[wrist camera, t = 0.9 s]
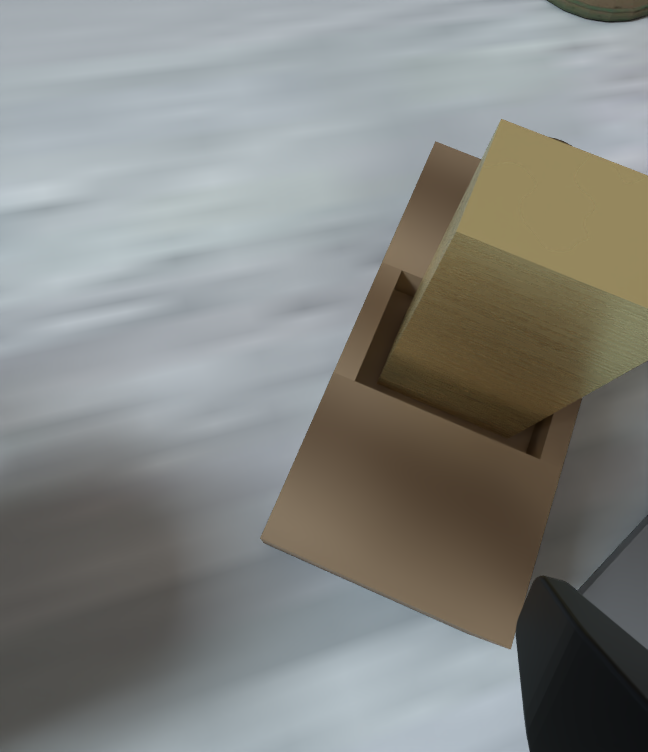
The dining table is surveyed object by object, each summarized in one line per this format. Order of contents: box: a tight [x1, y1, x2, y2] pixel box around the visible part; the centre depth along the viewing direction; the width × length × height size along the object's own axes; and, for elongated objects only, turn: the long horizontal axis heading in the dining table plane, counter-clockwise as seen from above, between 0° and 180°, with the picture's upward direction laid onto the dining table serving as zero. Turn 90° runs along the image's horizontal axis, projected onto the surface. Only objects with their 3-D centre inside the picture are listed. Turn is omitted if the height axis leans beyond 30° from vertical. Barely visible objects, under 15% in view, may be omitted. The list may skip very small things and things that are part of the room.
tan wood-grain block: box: [377, 119, 648, 439], centre depth 16 cm, size 3×5×10 cm, turn 67°
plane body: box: [260, 137, 582, 649], centre depth 20 cm, size 16×8×6 cm, turn 157°
